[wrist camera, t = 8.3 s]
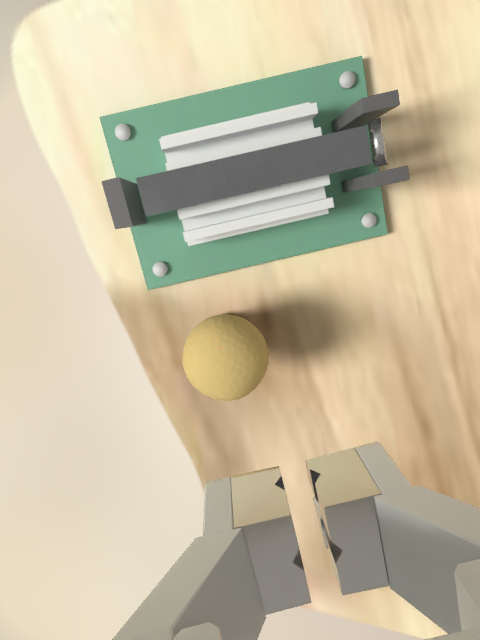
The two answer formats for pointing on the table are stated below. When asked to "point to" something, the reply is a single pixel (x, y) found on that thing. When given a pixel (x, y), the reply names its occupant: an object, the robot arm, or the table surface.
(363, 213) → the board
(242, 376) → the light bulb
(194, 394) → the table surface
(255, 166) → the strap
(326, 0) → the table surface
